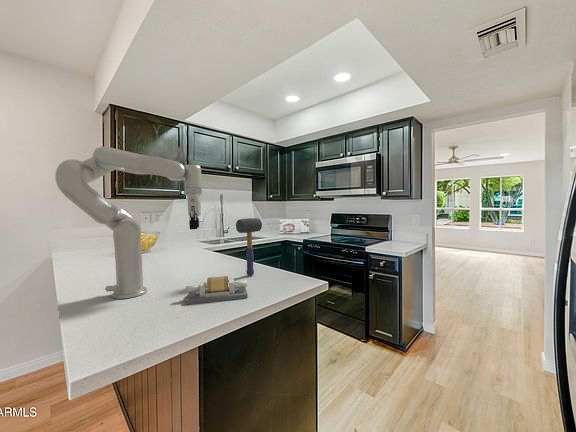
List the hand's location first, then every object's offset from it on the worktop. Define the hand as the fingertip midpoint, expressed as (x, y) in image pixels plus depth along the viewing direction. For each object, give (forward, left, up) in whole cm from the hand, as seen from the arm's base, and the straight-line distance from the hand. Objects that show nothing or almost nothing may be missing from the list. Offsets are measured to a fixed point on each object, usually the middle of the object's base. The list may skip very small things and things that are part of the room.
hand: (194, 228), depth 120 cm
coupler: (+10, -21, -25) cm, 34 cm away
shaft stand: (+10, -21, -26) cm, 35 cm away
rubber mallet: (+26, +6, -26) cm, 38 cm away
